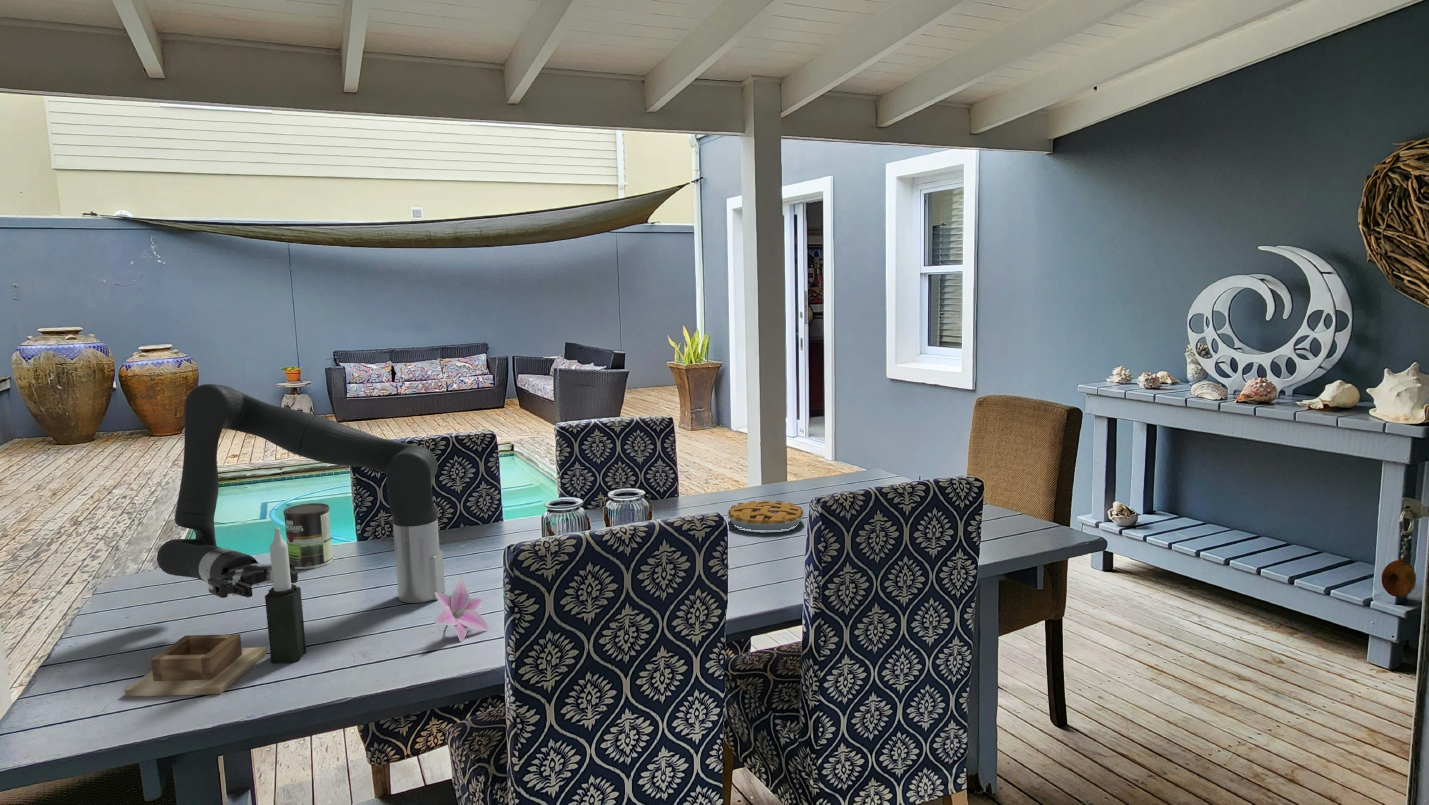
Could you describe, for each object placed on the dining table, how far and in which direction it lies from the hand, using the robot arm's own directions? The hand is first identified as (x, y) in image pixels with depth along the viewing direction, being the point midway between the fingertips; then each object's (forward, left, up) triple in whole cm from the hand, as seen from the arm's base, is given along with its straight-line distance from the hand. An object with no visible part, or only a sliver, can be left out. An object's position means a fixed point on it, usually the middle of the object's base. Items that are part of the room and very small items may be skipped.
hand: (273, 584), depth 159 cm
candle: (-3, +2, -14) cm, 14 cm away
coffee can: (+17, -53, -14) cm, 58 cm away
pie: (-99, -78, -14) cm, 127 cm away
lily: (-32, -7, -14) cm, 36 cm away
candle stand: (+10, +8, -14) cm, 19 cm away
